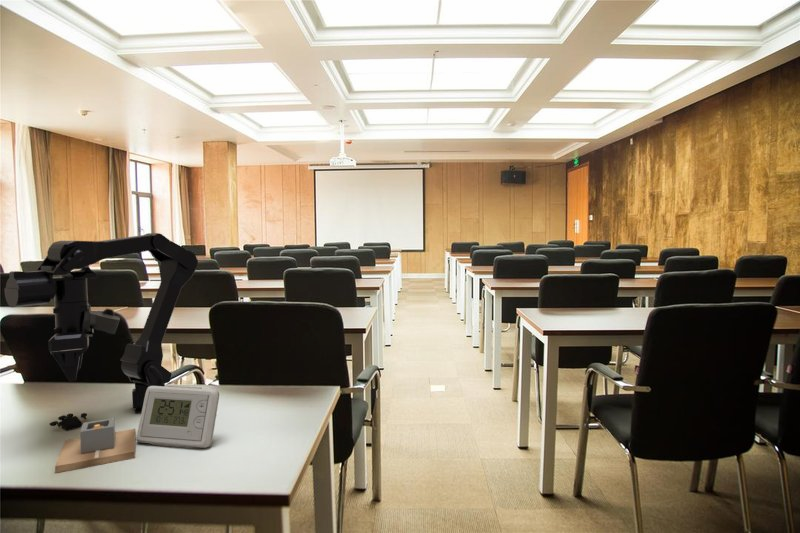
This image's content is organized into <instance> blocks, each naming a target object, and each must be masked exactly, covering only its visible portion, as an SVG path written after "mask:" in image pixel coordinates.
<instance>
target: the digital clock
mask: <svg viewBox="0 0 800 533" xmlns="http://www.w3.org/2000/svg"><path fill="white" fill-rule="evenodd" d="M219 399H220V392H219V390H216V389H214V388H213V389H211V388H202V387H196V386H195V387H193V386H192V387H190V386H176V385H175V386H173V385H165V386H149V387H148V388H147V390H146V394H145V398H144V403H143V408H142V412H141V413H140V417H139V418H140V419H139V422H138V423H139V424H138V429H137V431H136V441H137V442H138V443H141V444H151V445H153V446H160V447H161V446H163V447H173V448H174V447H176V448H187V449H193V448H201V449H206V448H209V447H210V446H211V445H212V443H213V436H214V432H215V426H216V418H217V411H218V405H219Z"/></svg>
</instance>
